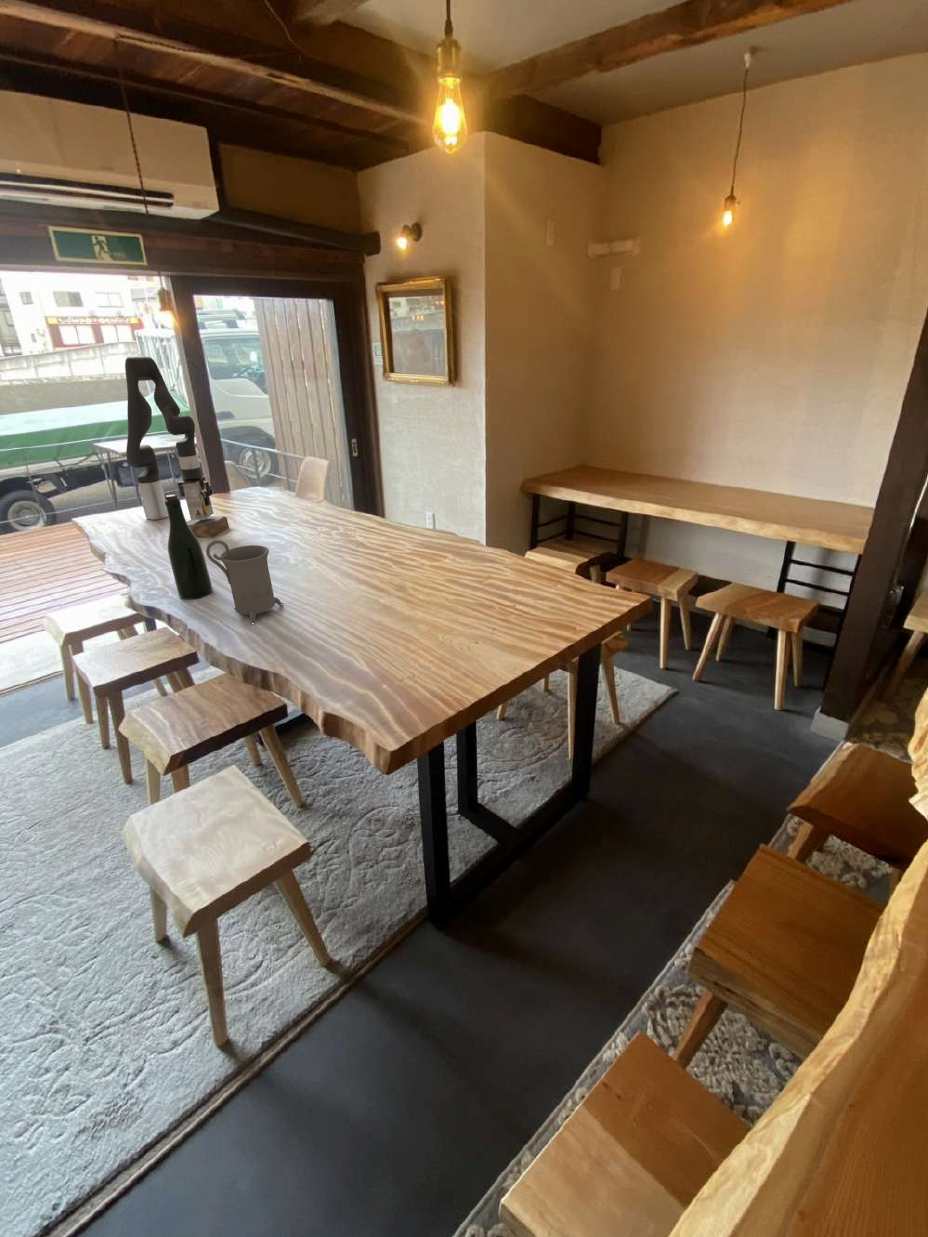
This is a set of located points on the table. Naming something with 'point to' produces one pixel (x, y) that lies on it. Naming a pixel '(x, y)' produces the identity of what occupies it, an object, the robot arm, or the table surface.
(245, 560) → the mug
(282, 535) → the table surface
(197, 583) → the beer bottle
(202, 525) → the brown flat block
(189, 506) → the coffee box
